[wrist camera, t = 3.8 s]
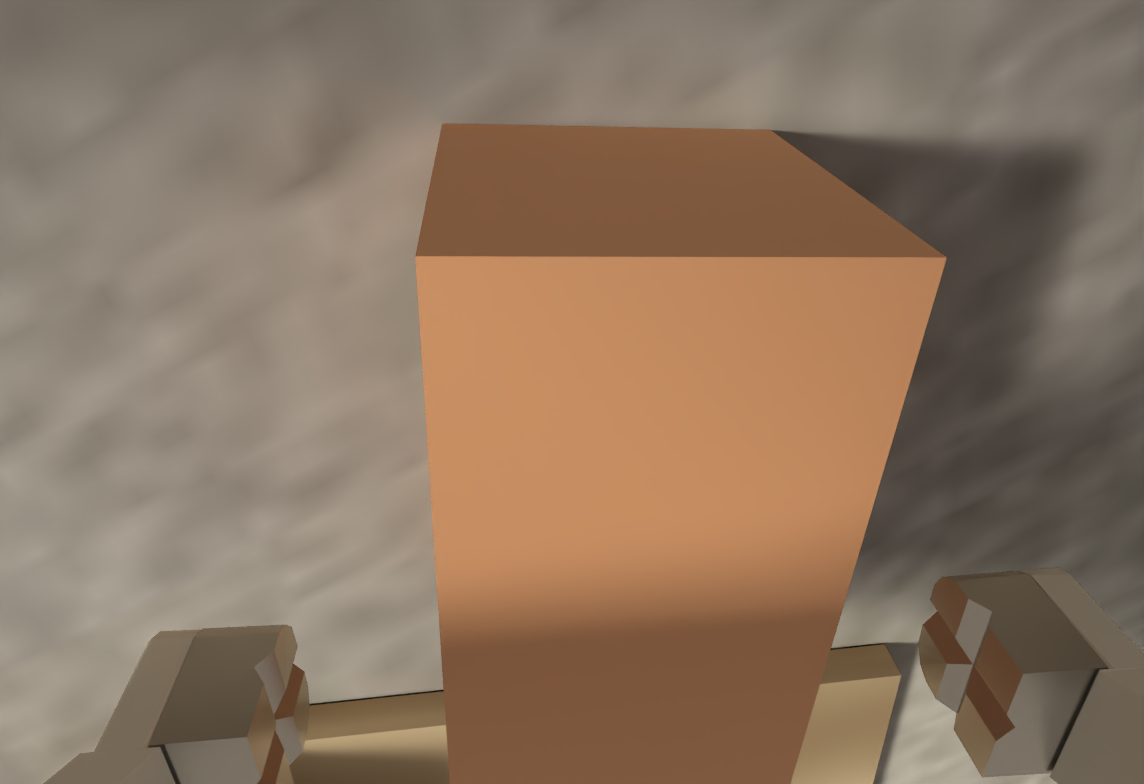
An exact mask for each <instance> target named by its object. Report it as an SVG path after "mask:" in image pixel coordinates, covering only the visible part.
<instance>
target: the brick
mask: <svg viewBox="0 0 1144 784" xmlns="http://www.w3.org/2000/svg"><path fill="white" fill-rule="evenodd" d="M415 258H416V273H417V289H418V304H419V319H420V335H421V350H422V365H423V381H424V396H425V411H426V427H427V442H428V457H429V473H430V488H431V503H432V518H433V534H434V549H435V564H436V580H437V595H438V610H439V626H440V641H441V656H442V672H443V687H444V702H445V718H446V733H447V748H448V764H449V779H450V784H791V781H792V777H793V774H794V770H795V767H796V764H797V760H798V757H799V754H800V750H801V747H802V744H803V740H804V737H805V733H806V730H807V727H808V723H809V720H810V717H811V713H812V710H813V707H814V703H815V700H816V696H817V693H818V690H819V686H820V683H821V680H822V676H823V673H824V670H825V666H826V663H827V659H828V656H829V653H830V649H831V646H832V643H833V639H834V636H835V633H836V629H837V626H838V622H839V619H840V616H841V612H842V609H843V606H844V602H845V599H846V596H847V592H848V589H849V585H850V582H851V579H852V575H853V572H854V569H855V565H856V562H857V559H858V555H859V552H860V548H861V545H862V542H863V538H864V535H865V532H866V528H867V525H868V522H869V518H870V515H871V511H872V508H873V505H874V501H875V498H876V495H877V491H878V488H879V485H880V481H881V478H882V474H883V471H884V468H885V464H886V461H887V458H888V454H889V451H890V448H891V444H892V441H893V437H894V434H895V431H896V427H897V424H898V421H899V417H900V414H901V411H902V407H903V404H904V400H905V397H906V394H907V390H908V387H909V384H910V380H911V377H912V374H913V370H914V367H915V363H916V360H917V357H918V353H919V350H920V347H921V343H922V340H923V337H924V333H925V330H926V326H927V323H928V320H929V316H930V313H931V310H932V306H933V303H934V300H935V296H936V293H937V289H938V286H939V283H940V279H941V276H942V273H943V269H944V266H945V263H946V259H947V257H946V256H944V255H943V254H941V253H940V252H939V251H937V250H936V249H935V248H933V247H932V246H930V245H929V244H928V243H926V242H925V241H923V240H922V239H921V238H919V237H918V236H917V235H915V234H914V233H912V232H911V231H910V230H908V229H907V228H905V227H904V226H903V225H901V224H900V223H899V222H897V221H896V220H894V219H893V218H892V217H890V216H889V215H887V214H886V213H885V212H883V211H882V210H881V209H879V208H878V207H876V206H875V205H874V204H872V203H871V202H869V201H868V200H867V199H865V198H864V197H863V196H861V195H860V194H858V193H857V192H856V191H854V190H853V189H852V188H850V187H849V186H847V185H846V184H845V183H843V182H842V181H840V180H839V179H838V178H836V177H835V176H834V175H832V174H831V173H829V172H828V171H827V170H825V169H824V168H822V167H821V166H820V165H818V164H817V163H816V162H814V161H813V160H811V159H810V158H809V157H807V156H806V155H804V154H803V153H802V152H800V151H799V150H798V149H796V148H795V147H793V146H792V145H791V144H789V143H788V142H786V141H785V140H784V139H782V138H781V137H780V136H778V135H777V134H775V133H774V132H773V131H771V130H744V129H693V128H642V127H591V126H540V125H489V124H442V128H441V133H440V138H439V142H438V147H437V152H436V157H435V162H434V167H433V172H432V177H431V182H430V187H429V192H428V197H427V202H426V206H425V211H424V216H423V221H422V226H421V231H420V236H419V241H418V246H417V251H416V256H415Z"/></svg>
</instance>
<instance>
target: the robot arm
mask: <svg viewBox="0 0 1144 784" xmlns="http://www.w3.org/2000/svg"><path fill="white" fill-rule="evenodd" d="M930 600H931V601H932V603H933V605H934V606H935V608H936V609H937V612H936V613H935V614H934V615H933V616H932V617H931V618H930V619H929V620H927V621H926V622H925V623H924V624H923V626H922V630H921V634H920V638H919V643H918V647H919V656H920V665H921V668H922V671H923V674H924V677H925V679H926V682H927V684H928V686H929V687H930V689H931V691H932V693H933V694H934V696H935V698H936V699H937V700H938V701H940V702H941V703H943V704H944V705H946V706H947V707H949V708H950V709H952V710H953V711H955V712H956V713H957V714H956V719H955V725H954V731H955V732H956V734H957V736H958V737H959V739H960V741H961V742H962V744H963V746H964V747H965V749H966V751H967V753H968V754H969V756H970V758H971V759H972V761H973V763H974V764H975V766H976V768H977V769H978V771H979V773H980V774H981V776H982V777H994V776H1011V775H1027V774H1043V773H1051V775H1050V777H1051V778H1052V779H1053V780H1054V781H1056V782H1057V783H1058V784H1144V654H1143V653H1142V652H1141V651H1140V650H1139V649H1138V648H1137V647H1136V646H1135V644H1134V643H1133V642H1132V641H1131V640H1130V639H1129V638H1128V637H1127V636H1126V635H1125V634H1124V633H1123V631H1122V630H1121V629H1120V628H1119V627H1118V626H1117V625H1116V624H1115V623H1114V622H1113V621H1112V619H1111V618H1110V617H1109V616H1108V615H1107V614H1106V613H1105V612H1104V611H1103V610H1102V609H1101V607H1100V606H1099V605H1098V604H1097V603H1096V602H1095V601H1094V600H1093V599H1092V598H1091V597H1090V595H1089V594H1088V593H1087V592H1086V591H1085V590H1084V589H1083V588H1082V587H1081V586H1080V585H1079V583H1078V582H1077V581H1076V580H1075V579H1074V578H1073V577H1072V576H1071V575H1070V574H1069V573H1067V572H1066V571H1064V570H1062V569H1060V568H1058V567H1055V568H1042V569H1030V570H1019V571H1017V572H1016V571H1006V572H994V573H982V574H970V575H958V576H945V577H942V578H941V579H940V580H939V581H938V582H937V583H936V584H935V586H934V589H933V592H932V595H931V598H930ZM297 647H298V646H297V643H296V639H295V636H294V633H293V630H292V627H291V626H288V625H269V626H248V627H227V628H206V629H202V630H181V631H160V632H159V633H158V634H157V635H156V636H154V637H153V638H152V639H151V640H150V641H149V642H148V644H147V646H146V648H145V650H144V652H143V654H142V656H141V658H140V660H139V662H138V664H137V667H136V669H135V671H134V673H133V675H132V677H131V679H130V681H129V683H128V685H127V687H126V689H125V691H124V693H123V695H122V697H121V699H120V701H119V703H118V705H117V707H116V709H115V711H114V713H113V715H112V717H111V719H110V721H109V723H108V725H107V727H106V729H105V731H104V733H103V735H102V737H101V739H100V741H99V743H98V745H97V747H96V749H95V751H94V752H89V753H80V754H79V755H78V756H77V757H75V758H74V759H73V760H72V761H70V762H69V763H68V764H67V765H66V766H64V767H63V768H62V769H61V770H59V771H58V772H57V773H56V774H55V775H53V776H52V777H51V778H50V779H48V780H47V781H46V782H45V783H44V784H294V781H293V778H292V774H291V771H290V767H289V765H290V764H291V763H292V762H293V761H294V760H295V759H296V758H297V757H298V756H299V755H300V754H301V753H302V752H303V749H304V744H305V739H306V735H307V730H308V718H309V693H308V685H307V681H306V677H305V672H304V671H303V670H301V669H300V668H298V667H297V666H296V665H294V664H293V662H294V658H295V654H296V650H297Z"/></svg>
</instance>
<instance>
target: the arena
mask: <svg viewBox="0 0 1144 784" xmlns="http://www.w3.org/2000/svg"><path fill="white" fill-rule="evenodd" d="M900 679H901V674H900V672H899V670H898V668H897V666H896V664H895V663H894V661H893V659H892V657H891V655H890V654H889V652H888V650H887V648H886V646H885V645H884V644H883V645H873V646H864V647H854V648H845V649H836V650H830V653H829V656H828V659H827V663H826V666H825V670H824V673H823V676H822V680H821V683H820V686H819V690H818V693H817V696H816V700H815V703H814V707H813V710H812V713H811V717H810V720H809V723H808V727H807V730H806V733H805V737H804V740H803V744H802V747H801V750H800V754H799V757H798V760H797V764H796V767H795V770H794V774H793V777H792V781H791V784H873V782H874V778H875V774H876V770H877V767H878V763H879V759H880V755H881V751H882V747H883V744H884V740H885V736H886V732H887V728H888V725H889V721H890V717H891V713H892V709H893V706H894V702H895V698H896V694H897V690H898V687H899V683H900ZM289 767H290V771H291V774H292V778H293V781H294V784H450V779H449V764H448V748H447V733H446V718H445V702H444V691H442V692H433V693H423V694H414V695H405V696H395V697H386V698H376V699H367V700H358V701H348V702H339V703H330V704H320V705H311V706H309V718H308V730H307V735H306V739H305V744H304V749H303V752H302V753H301V754H300V755H299V756H298V757H297V758H296V759H295V760H294V761H293V762H292V763H291V764H290V765H289Z"/></svg>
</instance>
